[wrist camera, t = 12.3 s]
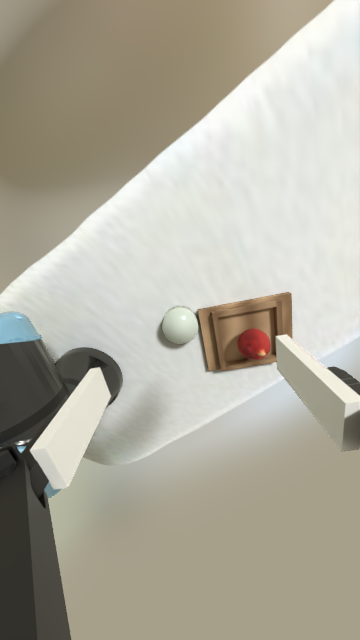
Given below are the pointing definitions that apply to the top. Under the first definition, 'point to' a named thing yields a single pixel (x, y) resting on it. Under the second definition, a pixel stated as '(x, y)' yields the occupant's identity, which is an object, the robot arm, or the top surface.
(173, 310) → the pale green dome
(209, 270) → the top surface
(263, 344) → the onion
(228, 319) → the tray
